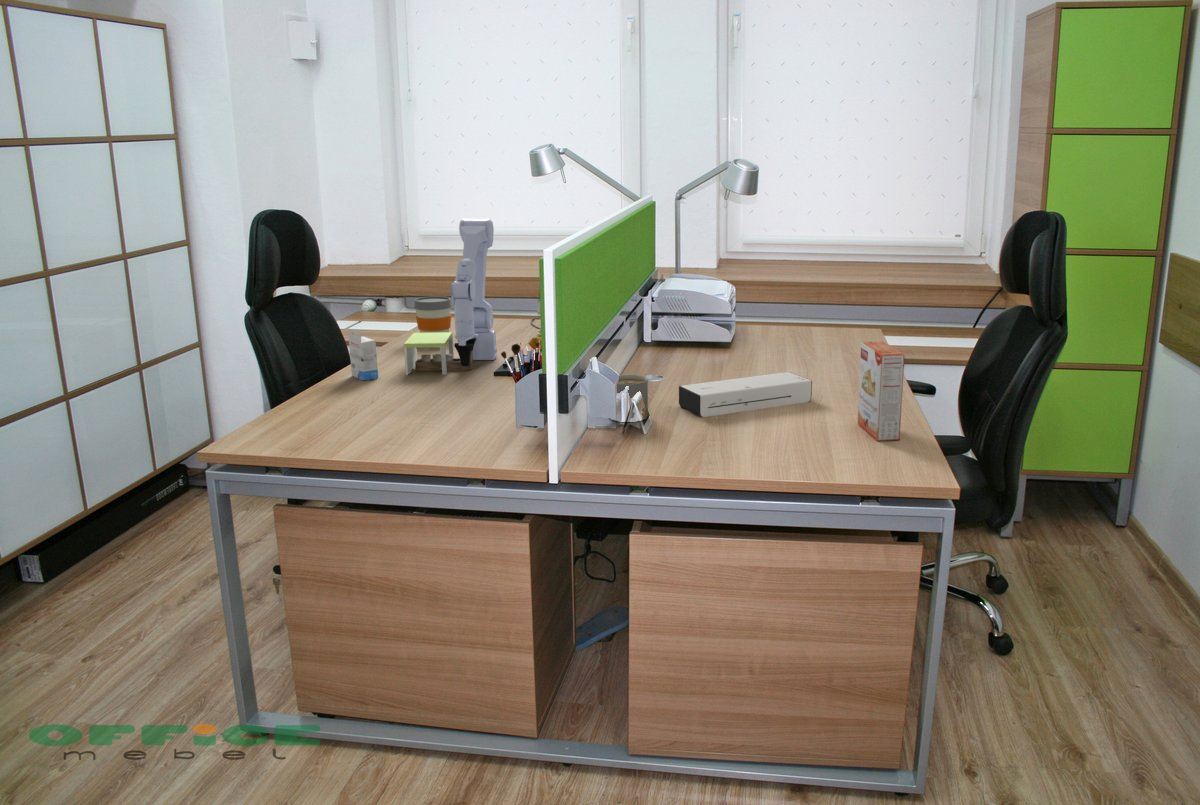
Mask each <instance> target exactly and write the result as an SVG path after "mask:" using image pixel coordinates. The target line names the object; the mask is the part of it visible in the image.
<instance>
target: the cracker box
mask: <svg viewBox="0 0 1200 805" xmlns="http://www.w3.org/2000/svg"><path fill="white" fill-rule="evenodd" d="M860 344H861V345H860V363H859V364H860V365H859V385H858V406H857V407H858V408H857V424H858V425H859V426H860V427H861V428H862V429H863V430H864V431H866V433H868V435H870V436H871V437H873V439H874V440H876V442H885V441H886V442H887V441H900V439H901V425H902V410H903V409H902V407H903V394H904V393H903V392H904V391H903V388H904V377H905V376H904V375H905V373H904V372H905V360H906V359H905V358H906V354H905V353H902V352H901V351H900V350H898V349H896V348H895V347H893V346H892V345H890V344H889V343H887V342H885V341H862V342H860Z"/></svg>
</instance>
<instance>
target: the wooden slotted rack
mask: <svg viewBox="0 0 1200 805" xmlns="http://www.w3.org/2000/svg"><path fill="white" fill-rule="evenodd" d="M446 367H447V371H471V370H473V368H474V360H473V351H471V354H470V363H469V366H462V365H461V361H460V357H458V358H457V357H456V358H455V357H454V358H453V355H452V354H449V353H448V354H447V353H446ZM414 368H415V371H416V372H417V371H418V370H419V371H418V372H420V370H421V372H424V371H425V372H427V371H429V372H432V371H434V370H442V361H441V353H440V354H438V353H437V354H433V355H432V358H431V354H421V355H420V358H417V361H416V362H415V367H414ZM422 370H423V371H422ZM434 372H435V371H434Z"/></svg>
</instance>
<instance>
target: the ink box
mask: <svg viewBox="0 0 1200 805" xmlns="http://www.w3.org/2000/svg"><path fill="white" fill-rule="evenodd" d="M353 334H354V335H353ZM376 341H377V340H375V339H372V338H370V337H369V338H368V337H367V336H362V333H361V331H357V330H355V329H351V328H348V344H349V354H350V366H351V367H350V368H351V369H350V370H351V377H353V376H354V377H353V378H355V377H356V379H358V378H359V379H358V380H360V379H361V380H360V381H363V380H367V381H370V380H369V379H373V380H376V379H375V378H378V379H379V371H378V370H379V369H378V356H377V345H376V344H377V343H376Z"/></svg>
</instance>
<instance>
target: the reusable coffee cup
mask: <svg viewBox="0 0 1200 805" xmlns="http://www.w3.org/2000/svg"><path fill="white" fill-rule="evenodd" d="M452 306H453V304H452V298H451V297H448V296H443V295H442V296H438V295H437V296H436V295H434V296H432V295H431V296H423V297H418V298H415V299H414V309H415V313H416V316H415V319H416V324H417V328H418V330H419V333H438V332H450V328H451V325H452V324H451V323H452V314H451V308H452Z"/></svg>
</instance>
